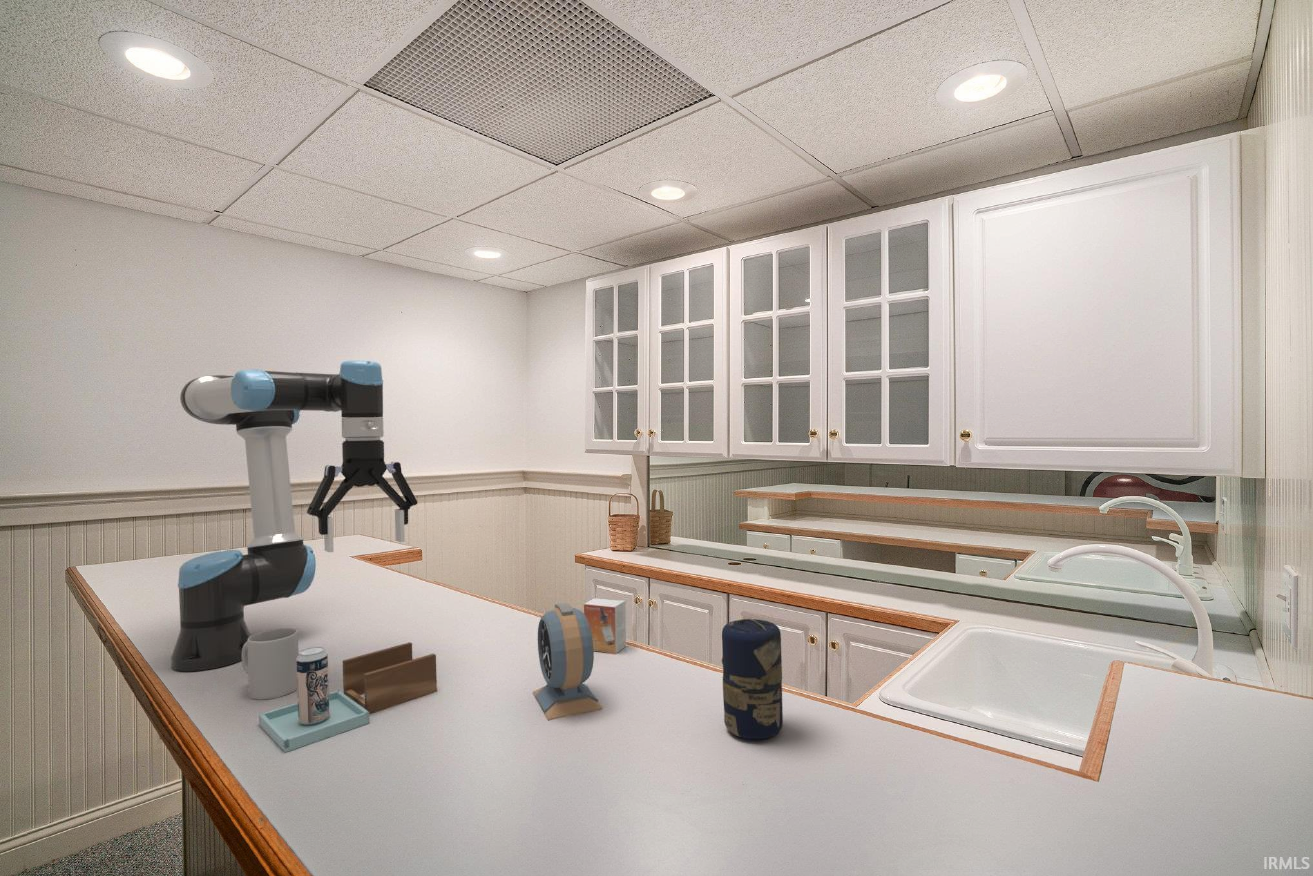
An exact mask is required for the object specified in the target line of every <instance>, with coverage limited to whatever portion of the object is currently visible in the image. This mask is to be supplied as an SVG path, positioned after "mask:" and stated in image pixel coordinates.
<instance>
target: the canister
mask: <svg viewBox="0 0 1313 876" xmlns="http://www.w3.org/2000/svg"><path fill="white" fill-rule="evenodd" d="M721 643H722V647H721V648H722V651H721V652H722V657H721V664H722V696H723V711H724V713H723V714H724V715H723V720H724V725H725V727H726V729H727V730H728V731H729V733H731V734H733V735H734V736H737V737H739V738H743V739H748V740H762V739H768V738H772V737H774V736H775V735H777V734H779V732H780V731H781V729H782V728H783V724H784V719H783V718H784V715H783V666H782V665H783V664H782V663H783V660H782V634H781V630H780V628H779V626H778V625H776V624H775V623H774V622H770V621H768V620H763V619H754V618H753V619H752V618H742V619H737V620H736V619H735V620H732V621H730V622H727V623H726V624H725V625H724V626H723V627H722V630H721Z"/></svg>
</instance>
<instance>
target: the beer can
mask: <svg viewBox="0 0 1313 876" xmlns="http://www.w3.org/2000/svg"><path fill="white" fill-rule="evenodd" d="M328 655H329V653H328V651H327V650H326V648H325V647H323V646H313V647H308V648H305V649H302V650H300V651H299V655H298V657H297V658H296V662H297V690H296V691H297V703H298V722H299V723H301V724H304V725H314V724H318V723H320V722H322V721H324V720H325V719H326V718H328V717H329V715H330V711H329V693H330V691H329V690H330V688H329V685H330V684H329V682H330V681H329V657H328Z"/></svg>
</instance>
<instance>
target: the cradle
mask: <svg viewBox="0 0 1313 876" xmlns="http://www.w3.org/2000/svg"><path fill="white" fill-rule="evenodd" d="M437 681H438V680H437V654H436V653H431V654H428V655H424V656H421V657H417V658H413V643H412V642H405V643H402V644H398V645H394V646H391V647H387V648H382V649H380V650H376V651H372V652H369V653H366V654H362V655H358V656H354V657H350V658H348V659H343V660H342V683H343V685H342V688H343V694H345V695H346V696H347V697H349V698H350V699H352V700H353V701H354V702H356V703H357V704H359V705H360V706H361V707H363V708H364V709H366V710H367V711H368V712H370V714H375V713H376V712H380V711H382V710H386V709H388V708H392V707H394V706H397V705H400V704H403V703H406V702H409V701H411V700H412V701H413V700H414V699H417V698H420V697H423V696H427V695H430V694H432V693H436V692H437V691H438V684H437V683H438V682H437ZM363 694H364V697H363V696H361V695H363Z"/></svg>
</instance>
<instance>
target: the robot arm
mask: <svg viewBox="0 0 1313 876" xmlns="http://www.w3.org/2000/svg"><path fill="white" fill-rule="evenodd" d="M339 366H340V370H339V373H335V374H333V373H318V372H317V373H314V372H313V373H312V372H290V371H289V372H288V371H277V370H276V371H275V370H274V371H273V370H272V371H271V370H262V369H240V370H238V371H236V373H235V374H234V375H225V374H224V375H223V374H222V375H221V374H220V375H219V374H218V375H216V374H215V375H206V376H205V375H204V376H200V377H197V378H193V379H191V380H190V381H188V382H187V383H186V384H185V385H184V386H183V388H181V392H180V397H179V400H180V404H181V407H182V408H183V410H184V411H185V412H186V414H188V415H189V416H190V417H192V418H194V419H196V420H198V421H201V422H202V423H203V422H204V423H206V424H213V425H221V426H222V425H223V426H224V425H228V426H229V425H233V426H234V425H235V429H236V434H237V435H238V436H239V437H241V438H242V439H244V442H245V443H244V445H245V454H246V455H245V457H246V465H247V474H248V475H247V476H248V488H249V500H250V510H251V511H250V512H251V521H252V530H253V539H252V540H251V542H249V544H248V545H247V547H246V548H247V550H246V551H247V554H243V553H242V551H241V550H239V549H227V550H223V551H222V550H220V551H214V552H210V553H205V554H203V555H200V556H196V557H193V558H191V559H189V560H187V561H185V562H183V563H182V565H181V566H180V567H179V570H178V582H177V587H178V600H179V621H180V624H179V625H180V630H179V634H178V636H177V640H176V642H175V645H174V648H173V651H172V655H171V659H170V660H171V668H172V670H175V671H178V672H197V671H198V672H199V671H206V670H212V669H218V668H221V667H225V666H230V665H232V664H235V663H238V662H239V663H240V662H242V648H243V645H244V644H245V643H246V642H247V640H248V638H249V637H250V636H252V635H251V634H252V633H251V631H250V629H249V628H248V626H247V623H246V621H245V614H244V613H245V610H244V609H245V607H246V606H250V605H255V604H260V603H265V602H270V601H275V600H278V599H285V598H290V597H293V596H296V595H300V594H303V593H305V592H307V590H309V589H310V587H311V586H312V583H313V581H314V579H315V576H316V566H317V564H316V563H317V560H316V556H315V553H314V550H313V548H312V547H311V546H310V545H307V544H304V539H303V537H302V536H300V535H299V534H297V533H296V527H295V518H294V516H295V515H294V506H293V497H292V487H291V477H290V476H291V475H290V466H289V465H290V464H289V456H288V445H287V444H288V443H287V436H288V435H289V434H290V433H291V432H292V431H293V425H294V424H296V423H297V422H298V420H299V419H300V417H301V416H300V412H301V411H313V412H314V411H316V412H317V411H318V412H319V411H322V412H323V411H324V412H333V413H336V412H341V416H340V417H341V438H343V439H345V440H344V441H343V442H342V443H341V445H342V446H341V449H342V452H341V453H342V456H341V457H342V464H341V466H339V465H337V466H336V465H330V464H327V465H325V467H324V471H323V472H324V473H323V477H322V480H321V482H320V483H319V486H318V488H317V490H316V491H315V494H314V496H313V498H312V500H311V502H310V503H309V506H308V508H307V510H306V513H307V515H308V516H309V515H310V516H314V517H317V523H318V534H319V535H321V536H323V537H324V540H323V541H324V542H323V543H324V551H325V552H327V553H334V551H335V550H334V524H333V523H334V519H333V517H332V516H330V514H332V512H333V510H334V509H335V508H336V507H337V506H338V504H339V503H340V502H341V501H342V500H343V498H345V496H346V494H348V492H349V491H350V490H351V489H352V488H354V487H356V488H361V487H365V486H368V487H374V486H375V485H376V486H377V487H379V488H380V489H381V491H383V493H384V494H386V496H388V498H389V499H390V500H391V501H392V502H393V503H394V504H395V505H396V506H397V507H398V508H397V509H396V508H395V509H394V525H395V526H394V530H395V536H394V537H395V542H399V543H405V526H406V525H408V524H409V510H410V509H411V508H412V507H414V506H417V504H418V500H417V499H416V497H415V495H414V492H413V490H412V489H411V487H410V485H409V483H408V482H407V480H406V478H405V476H404V474H403V471H402V467H401V466H402V465H401V463H400V462H398V461H392V462H390V463H386V462H385V441H384V440H382V439H381V438H383V437H384V436H385V435H384V433H385V432H384V392H383V391H384V379H383V372H382V366H381V364H380V363H378V362H377V361H371V360H346V361H343V362H341V363H340V365H339ZM386 471H388V473H390V474H391V477H392V479H393V480H394V481H395V483H396V485H397V487H398V489H399V490H400V492H401V495H402V496H403V497H402V496H401V495H400V494H399V493H398V491H397V490H395V489H394V487H392V486H391V484H390V483H389V481H387V479H386V478H385V477H384V474H385V472H386ZM340 473H341V474H342V476H343V477H344V479H343V480H341V482H340V483H339V486H338V487H337V488H336V490H335V491H333V493H332V495H331V496H330V497H329V498H328V499H327V500H326V498H327V495H328V493H329V491H330V489H331V487H332V485H333V483H334V480H335V478H336V477H338V476H339V474H340ZM325 500H326V502H325V503H324V501H325Z"/></svg>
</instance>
